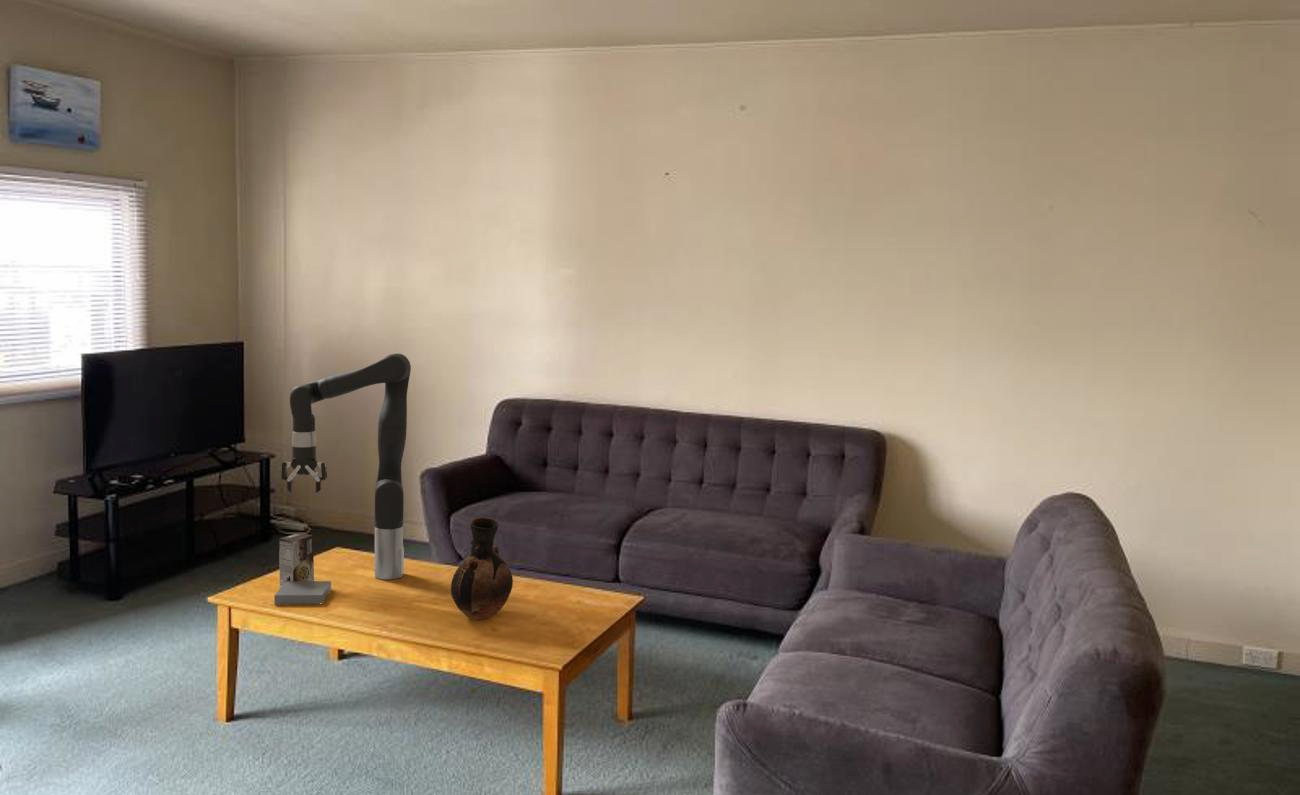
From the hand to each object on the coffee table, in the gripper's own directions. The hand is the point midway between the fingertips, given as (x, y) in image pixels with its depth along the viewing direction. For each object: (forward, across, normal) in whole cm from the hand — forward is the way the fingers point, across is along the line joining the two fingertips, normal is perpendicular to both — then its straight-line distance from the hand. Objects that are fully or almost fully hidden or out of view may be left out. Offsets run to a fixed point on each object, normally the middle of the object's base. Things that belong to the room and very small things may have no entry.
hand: (304, 492), depth 324 cm
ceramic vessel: (+28, +61, -44) cm, 80 cm away
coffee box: (+28, 0, -12) cm, 31 cm away
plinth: (+28, +5, -25) cm, 38 cm away
